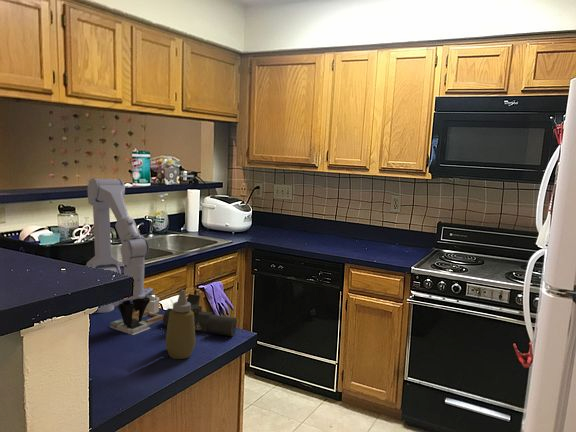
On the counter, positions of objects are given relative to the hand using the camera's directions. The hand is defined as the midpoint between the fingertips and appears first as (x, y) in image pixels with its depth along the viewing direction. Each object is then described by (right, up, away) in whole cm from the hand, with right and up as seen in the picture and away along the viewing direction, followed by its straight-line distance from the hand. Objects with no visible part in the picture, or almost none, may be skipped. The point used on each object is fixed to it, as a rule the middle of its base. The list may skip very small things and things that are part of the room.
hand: (132, 323), depth 141 cm
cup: (0, -1, +16) cm, 17 cm away
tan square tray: (+2, -2, +8) cm, 9 cm away
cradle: (0, -3, 0) cm, 3 cm away
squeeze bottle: (+17, -6, -13) cm, 23 cm away
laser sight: (+19, -4, +4) cm, 20 cm away
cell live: (0, -2, 0) cm, 2 cm away
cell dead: (0, 0, +16) cm, 16 cm away
